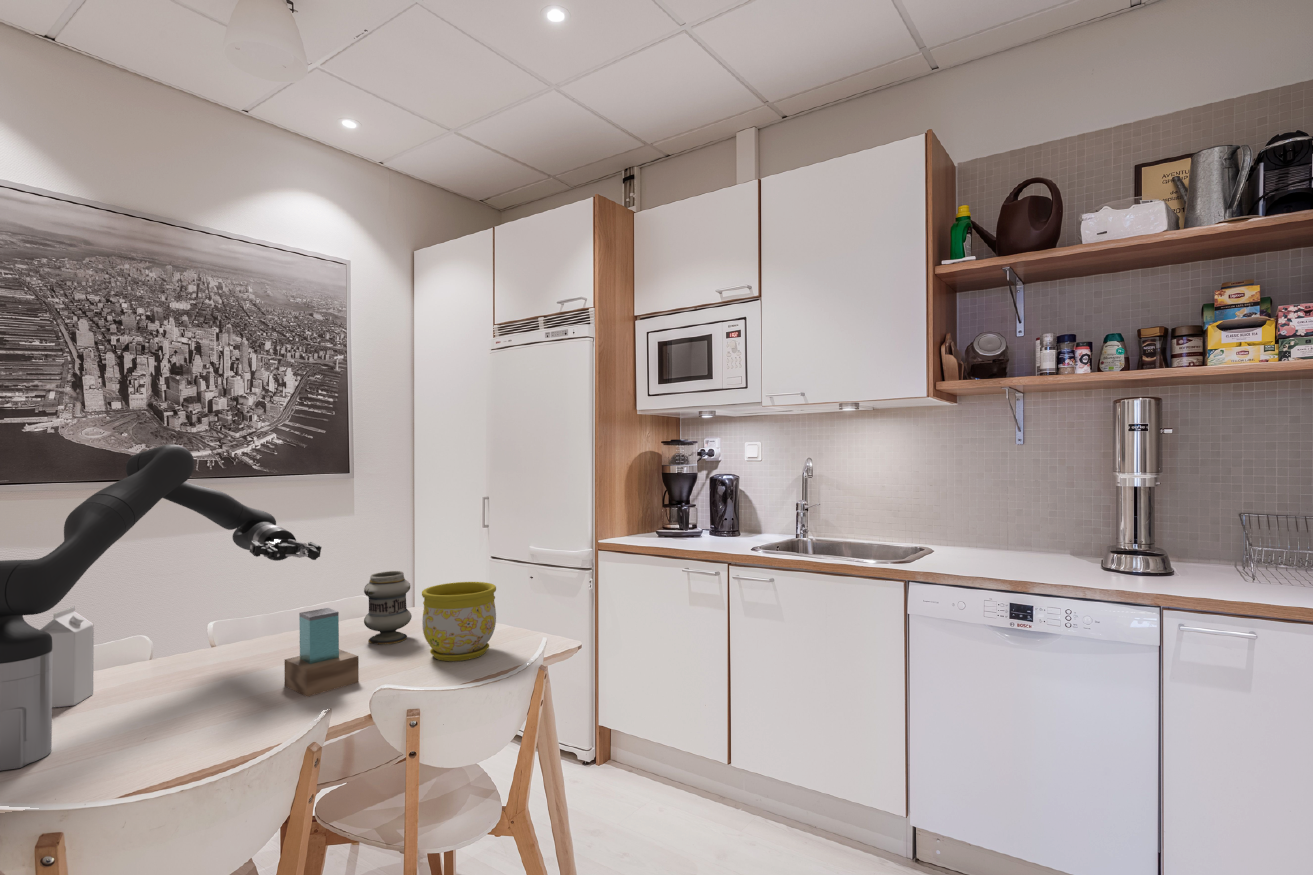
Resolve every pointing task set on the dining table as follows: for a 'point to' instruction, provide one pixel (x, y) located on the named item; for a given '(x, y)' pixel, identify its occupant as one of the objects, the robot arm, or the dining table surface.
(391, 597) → the apothecary jar
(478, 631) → the flowerpot
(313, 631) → the tea tin
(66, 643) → the milk carton
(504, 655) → the dining table surface
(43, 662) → the robot arm
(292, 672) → the walnut block
